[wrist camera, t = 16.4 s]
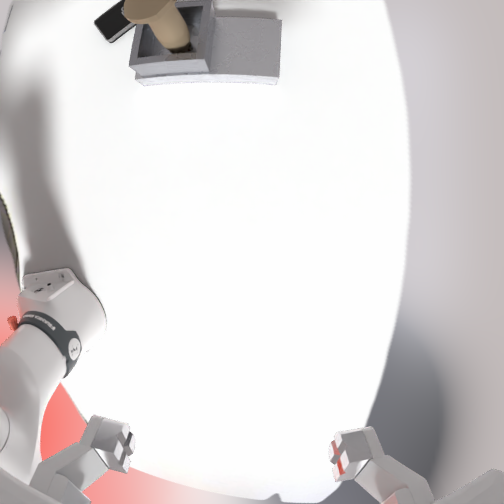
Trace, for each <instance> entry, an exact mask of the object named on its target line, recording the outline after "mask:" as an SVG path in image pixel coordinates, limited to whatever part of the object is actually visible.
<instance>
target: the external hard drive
mask: <svg viewBox="0 0 504 504" xmlns="http://www.w3.org/2000/svg"><path fill="white" fill-rule="evenodd" d="M124 2H125V0H121V1H119V2H118V3H117V4H115V5H114V6H113V7H111V8H110V9H109V10H107V11H106V12H105V13H103V14H102V15H101V16H100V17H98V18H97V19H96V20H95V21H94V24H95V26H96V27H97V29H98V30H99V31H100V33H101V34H102V35H103V37H104V38H105V39H106V40H107V41H108V42H109V43H113V42H115V41H116V40H117V39H118V38H120V37H121V36H122V35H123V34H125V33H126V32H127V31H129V30H130V29H131V28H133V27H134V26H136V25H137V24H135V23H132V22H130V21H129V20H128V19H127V18H126V17H125V16H124Z"/></svg>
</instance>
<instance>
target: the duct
mask: <svg viewBox="0 0 504 504" xmlns="http://www.w3.org/2000/svg"><path fill="white" fill-rule="evenodd" d="M174 5H175V7H176V8H177V10H178V11H179V13H180V15H181V16H182V18H183V19H184V21H185V23H186V25H187V27H188V30H189V33H190V42H191V48H190V49H188V50H187V51H186V52H185V53H178V54H172V53H170V52H169V50H167V49H166V48H165V47H164V46H163V45H162V44H161V43H160V42H159V41H158V39H157V38H156V36H155V34H154V32H153V31H152V29H151V27H150V26H149V24H137V25H136V29H135V34H134V39H133V44H132V49H131V55H130V61H129V67H131V68H132V69H133V70H135V71H136V76H135V80H136V81H138V82H139V83H141V84H142V85H143V86H149V85H159V84H173V83H194V82H234V83H255V84H269V85H276V84H277V81H278V79H279V71H280V50H281V26H282V20H277V19H266V18H251V17H216V16H215V11H214V6H213V1H212V0H199V1H186V2H176V3H175V4H174Z"/></svg>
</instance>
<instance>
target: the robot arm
mask: <svg viewBox="0 0 504 504" xmlns="http://www.w3.org/2000/svg"><path fill="white" fill-rule="evenodd" d="M63 275H64V276H63ZM17 308H18V313H19V317H20V322H19V324H18V323H17V318H16V316H12V317H9V318H8V320H7V321H8V323H9V325H10V329H11V330H14V332H13V333H12V334H11V335H10V336H9V337H8V339H6V340H5V341H4V342H3V343H2V344H1V345H0V504H91V501H90V499H89V498H88V497H87V496H86V495H84V494H83V493H82V491H83V490H85V489H86V488H87V487H88V486H90V485H91V484H92V483H93V482H95V481H96V480H97V479H98V478H99V477H101V476H102V475H103V474H104V473H105V472H107V471H108V469H111V470H115V471H119V472H123V473H127V472H128V469H129V465H130V462H131V461H130V459H129V457H128V456H130V455H131V454H133V452H134V448H135V438H134V435H133V434H132V433H131V432H130V431H129V430H130V426H129V424H128V423H124V422H119V421H115V420H111V419H107V418H105V417H101V416H97V415H93V416H92V417H91V419H90V421H89V423H88V425H87V427H86V429H85V431H84V434H83V436H82V438H81V440H80V442H79V443H78V442H76V443H74V444H72V445H70V446H69V447H67V448H65V449H64V450H62V451H60V452H58V453H57V454H55V455H53V456H51V457H49V458H48V459H46V460H44V461H42V457H41V452H40V435H41V426H42V420H43V415H44V412H45V409H46V406H47V404H48V402H49V400H50V398H51V396H52V394H53V393H54V391H55V389H56V388H57V386H58V384H59V383H60V381H61V380H62V379H63V378H65V377H66V376H67V375H68V374H69V373H70V372H71V370H72V368H73V367H74V366H75V364H76V362H77V360H78V359H79V358H80V357H81V356H82V355H83V354H84V353H85V352H88V351H89V350H90V349H91V347H92V345H93V344H94V343H95V342H96V341H98V340H99V339H100V338H101V337H102V336H103V335H104V333H105V330H106V317H105V313H104V310H103V308H102V306H101V304H100V302H99V301H98V299H97V298H96V296H95V295H94V294H93V293H92V292H91V291H90V290H89V289H88V288H87V287H86V286H84V285H83V284H82V283H81V282H80V281H79V280H78V279H77V277H76V276H75V274H74V273H73V272H72V270H71V269H69V268H63V269H57V270H51V271H44V272H38V273H33V274H27V275H25V276H24V277H23V279H22V292H21V293H20V294H19V296H18V298H17ZM334 438H335V440H334V441H332V442H331V444H330V446H329V458H330V462H332V463H333V464H334V465H335V466H334V467H333V469H332V470H333V474H334V478H335V482H338V481H344V480H350V479H354V480H355V481H357V483H359V484H360V485H361V486H362V487H363V488H364V489H365V490H366V491H368V493H370V494H371V495H372V496H373V497H374V498H375V499H376V500H378V501H379V502H380V503H381V504H504V472H502V471H500V470H496V469H491V470H489V471H487V472H486V473H484V474H482V475H481V476H479V477H478V478H476V479H475V480H473V481H471V482H470V483H468V484H466V485H465V486H463V487H461V488H459V489H458V490H456V491H454V492H452V493H450V494H448V495H447V496H445V497H443V498H441V499H439V500H437V501H435V499H434V497H433V495H432V492H431V490H430V488H429V486H428V483H427V481H426V479H425V478H423V477H421V476H420V475H418V474H417V473H415V472H413V471H412V470H410V469H409V468H407V467H406V466H404V465H403V464H401V463H399V462H398V461H396V460H395V459H393V458H392V457H390V456H389V455H386V456H385V454H384V452H383V449H382V447H381V445H380V442H379V440H378V438H377V435H376V433H375V431H374V428H373V427H365V428H358V429H353V430H347V431H341V432H337V433H336V434H335V436H334Z"/></svg>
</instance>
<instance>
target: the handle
mask: <svg viewBox="0 0 504 504" xmlns="http://www.w3.org/2000/svg"><path fill="white" fill-rule="evenodd" d="M175 3H176V0H125V2H124V16H125V17H126V18H127V19H128V20H129V21H130V22H132V23H135V24H149V26H150V27H151V29H152V31H153V32H154V34H155V36H156V38H157V39H158V41H159V42H160V43H161V44H162V45H163V46H164V47H165V48H166V49H167V50H169V52H170V53H172V54H178V53H185V52H186V51H187V50H188V49H190V48H191V42H190V33H189V30H188V27H187V25H186V23H185V21H184V19H183V18H182V16H181V15H180V13H179V11H178V10H177V8H176V7H175V5H174V4H175Z"/></svg>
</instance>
